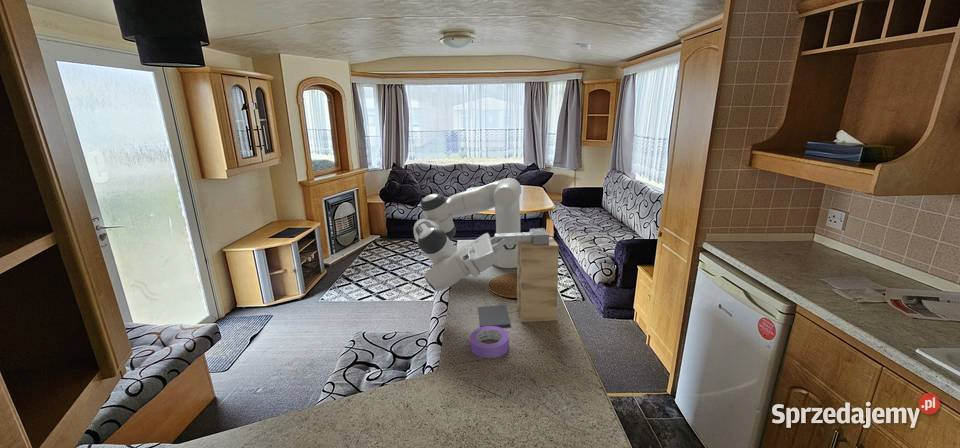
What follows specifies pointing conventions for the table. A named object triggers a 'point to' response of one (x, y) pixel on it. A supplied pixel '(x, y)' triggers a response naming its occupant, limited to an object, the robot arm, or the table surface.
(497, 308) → the mat
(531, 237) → the bar
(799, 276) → the table surface
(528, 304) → the oak post
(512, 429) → the table surface
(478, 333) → the masking tape
